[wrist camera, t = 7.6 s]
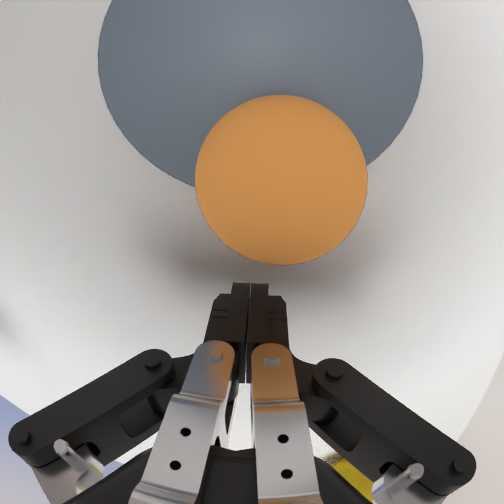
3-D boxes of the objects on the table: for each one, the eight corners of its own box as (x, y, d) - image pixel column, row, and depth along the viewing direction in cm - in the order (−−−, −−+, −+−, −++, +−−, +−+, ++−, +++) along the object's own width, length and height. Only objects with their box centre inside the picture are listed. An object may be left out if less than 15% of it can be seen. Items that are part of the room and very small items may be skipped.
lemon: (374, 443, 23) (385, 510, 16) (362, 462, 26) (370, 519, 19) (321, 451, 24) (326, 521, 17) (316, 468, 26) (319, 527, 19)
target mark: (108, 198, 13) (106, 199, 13) (114, -58, 6) (112, -59, 6) (407, 207, 12) (408, 208, 12) (408, -56, 6) (409, -58, 6)
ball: (178, 138, 5) (226, 55, 8) (174, 277, 10) (205, 169, 13) (425, 207, 6) (375, 100, 9) (328, 306, 10) (322, 197, 13)
